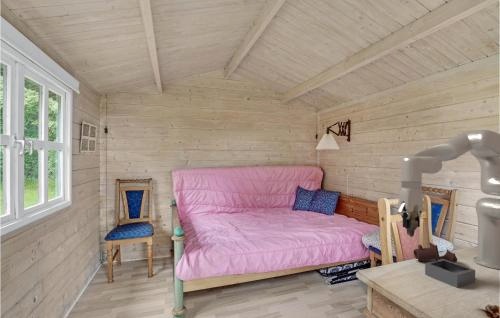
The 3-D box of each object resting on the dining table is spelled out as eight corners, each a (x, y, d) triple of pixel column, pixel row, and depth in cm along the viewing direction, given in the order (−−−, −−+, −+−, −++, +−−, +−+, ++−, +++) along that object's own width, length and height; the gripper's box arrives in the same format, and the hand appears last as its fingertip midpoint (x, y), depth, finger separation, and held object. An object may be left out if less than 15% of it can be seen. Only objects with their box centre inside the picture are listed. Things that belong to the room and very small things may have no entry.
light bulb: (421, 238, 112) (421, 203, 111) (411, 239, 110) (411, 204, 110) (410, 234, 117) (410, 200, 117) (400, 235, 116) (400, 201, 115)
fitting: (442, 269, 118) (442, 258, 118) (475, 282, 107) (475, 269, 107) (425, 274, 114) (425, 263, 113) (457, 287, 102) (457, 275, 102)
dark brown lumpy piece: (460, 264, 121) (456, 242, 122) (420, 267, 125) (416, 247, 125) (453, 259, 127) (449, 238, 128) (415, 262, 131) (411, 242, 131)
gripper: (415, 183, 120) (415, 222, 120) (389, 185, 113) (389, 227, 114) (432, 185, 113) (432, 226, 114) (406, 187, 106) (405, 231, 107)
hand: (411, 226), depth 114 cm, fingers closed on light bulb, 5 cm apart
